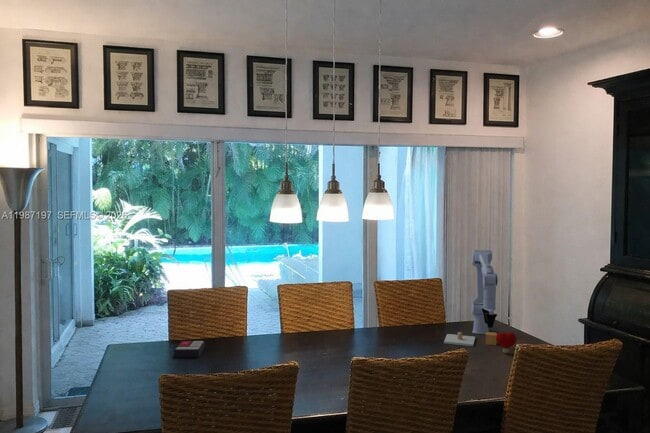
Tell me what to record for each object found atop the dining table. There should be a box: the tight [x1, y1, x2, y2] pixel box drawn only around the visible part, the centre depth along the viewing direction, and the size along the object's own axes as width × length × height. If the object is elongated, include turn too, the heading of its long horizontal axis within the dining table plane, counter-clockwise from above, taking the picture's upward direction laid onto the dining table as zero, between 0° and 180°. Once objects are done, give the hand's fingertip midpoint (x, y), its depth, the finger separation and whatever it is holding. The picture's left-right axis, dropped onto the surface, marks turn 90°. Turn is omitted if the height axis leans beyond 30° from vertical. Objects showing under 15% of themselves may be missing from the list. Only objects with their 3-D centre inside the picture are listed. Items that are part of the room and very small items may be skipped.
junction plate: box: [443, 331, 476, 347], centre depth 268 cm, size 14×14×4 cm
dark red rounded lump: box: [496, 331, 518, 355], centre depth 248 cm, size 9×7×10 cm
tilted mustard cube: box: [485, 331, 498, 346], centre depth 264 cm, size 5×5×5 cm
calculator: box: [173, 340, 206, 358], centre depth 247 cm, size 11×4×15 cm
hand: (488, 325), depth 262 cm, fingers open, 7 cm apart
